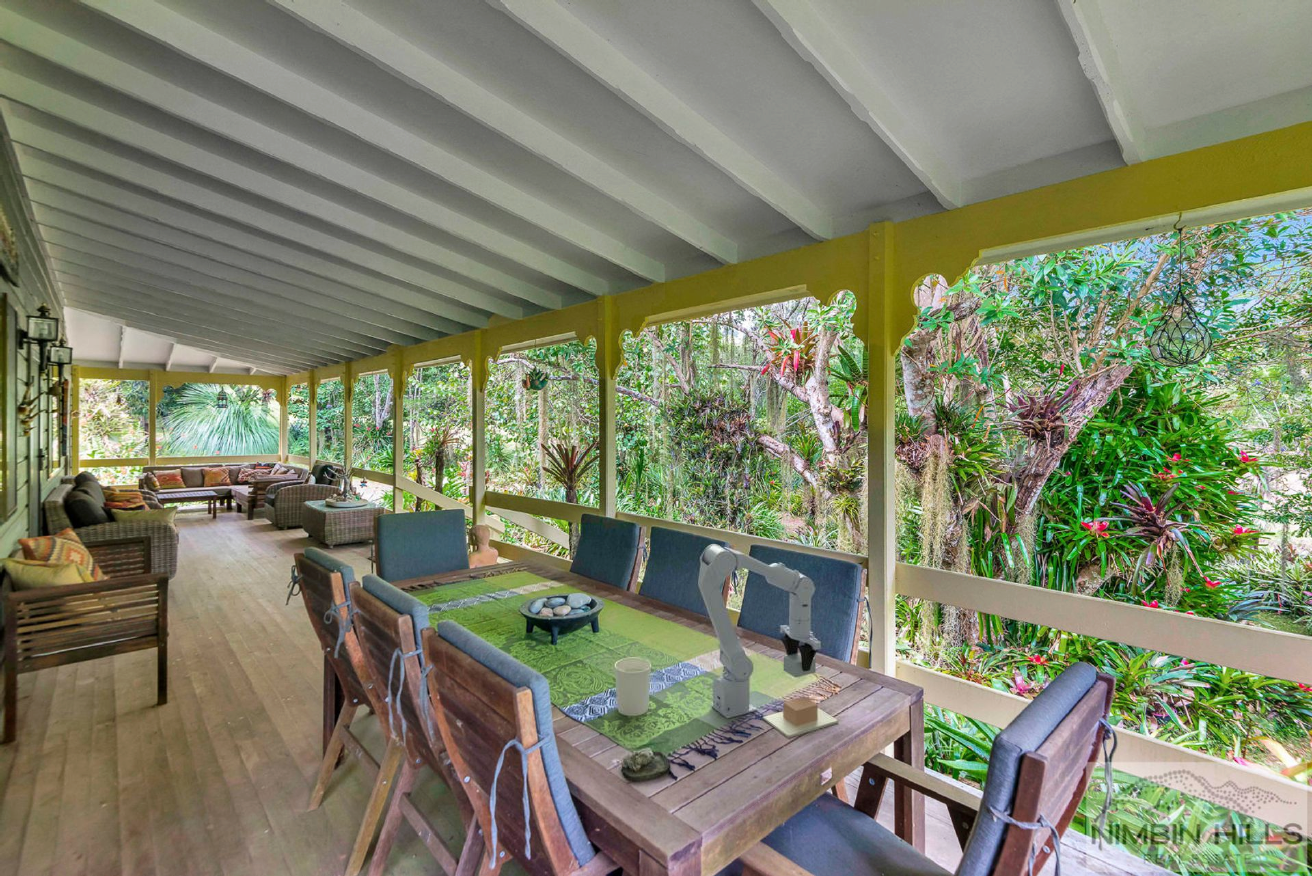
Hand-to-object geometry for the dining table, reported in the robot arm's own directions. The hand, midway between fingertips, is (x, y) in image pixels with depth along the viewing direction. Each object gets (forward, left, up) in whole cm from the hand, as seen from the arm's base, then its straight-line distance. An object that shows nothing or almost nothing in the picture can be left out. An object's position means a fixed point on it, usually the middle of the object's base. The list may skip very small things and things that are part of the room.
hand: (799, 666), depth 160 cm
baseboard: (-7, -9, -9) cm, 15 cm away
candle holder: (-43, +16, -10) cm, 47 cm away
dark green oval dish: (-51, -10, -10) cm, 53 cm away
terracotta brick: (-7, -9, -9) cm, 15 cm away
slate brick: (0, 0, -1) cm, 1 cm away
